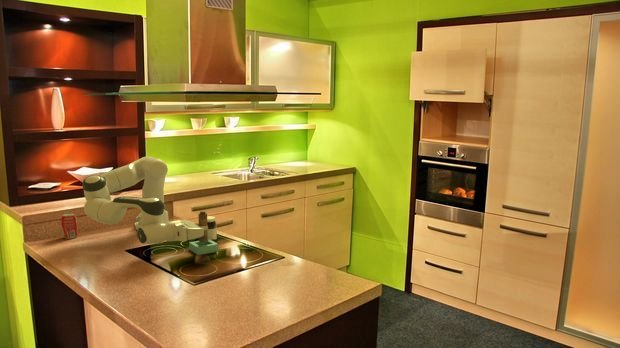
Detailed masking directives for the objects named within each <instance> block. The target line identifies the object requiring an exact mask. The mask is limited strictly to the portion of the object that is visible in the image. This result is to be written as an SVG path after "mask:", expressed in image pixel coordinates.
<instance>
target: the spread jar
mask: <svg viewBox="0 0 620 348" xmlns="http://www.w3.org/2000/svg"><path fill="white" fill-rule="evenodd" d="M217 224H218V223H217V222H216V216H211V215H210V216H209V215H207V225H208V239H210V240H212V241H214V242H216V241H217V238H218V237H217V236H218V227H217V226H218V225H217Z"/></svg>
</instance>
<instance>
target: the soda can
mask: <svg viewBox="0 0 620 348" xmlns="http://www.w3.org/2000/svg"><path fill="white" fill-rule="evenodd" d="M77 218H78V217H77V216H76V213H71V212H70V213H64V214H62V215H61V218H60V219H61V220H60V223H61V224H60V225H61V235H62V238H64V239H66V240H71V239H72V240H73V239H74V238H75V239H76V238H77V237H78V233H79V231H78V221H77V220H78V219H77Z"/></svg>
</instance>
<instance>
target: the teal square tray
mask: <svg viewBox="0 0 620 348" xmlns="http://www.w3.org/2000/svg"><path fill="white" fill-rule="evenodd" d="M188 243H189V245H188V247H189V249H188V250H189V251H191V252H192V251H193V252H192V253H194V254H196V255H197V256H200V255H206V254H211V253H217V252H219V243H217V242H216V241H212V240H210V239H208V241H207V242H199V240H196V241H189V242H188Z"/></svg>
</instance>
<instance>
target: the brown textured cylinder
mask: <svg viewBox="0 0 620 348" xmlns="http://www.w3.org/2000/svg"><path fill="white" fill-rule="evenodd" d="M197 215H198V218H197V219H198V223H199V226H201V227H202V226H204V225H206V226H208V225H207V216H208V213H207V212H206V210H205V211H204V210H201V211H200V212H198V214H197ZM198 241H199V242H207V241H208V229H207V230H204V235H203V236H202V237H199V238H198Z"/></svg>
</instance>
